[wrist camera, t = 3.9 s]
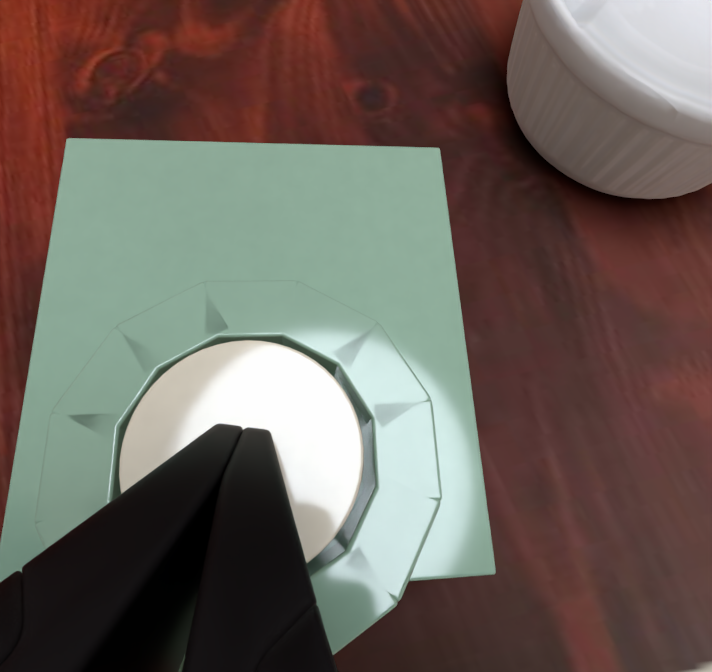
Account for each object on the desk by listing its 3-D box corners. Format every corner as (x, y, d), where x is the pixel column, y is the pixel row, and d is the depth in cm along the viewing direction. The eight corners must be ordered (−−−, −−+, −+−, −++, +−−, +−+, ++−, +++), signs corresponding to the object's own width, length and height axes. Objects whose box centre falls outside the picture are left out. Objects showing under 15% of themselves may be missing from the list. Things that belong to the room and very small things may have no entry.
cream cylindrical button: (355, 559, 10) (371, 577, 8) (153, 574, 10) (104, 597, 7) (346, 372, 11) (357, 337, 9) (168, 376, 11) (129, 341, 8)
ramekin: (484, -10, 22) (537, -160, 17) (719, 35, 23) (836, -97, 18) (475, 201, 18) (540, 88, 13) (757, 247, 19) (921, 155, 14)
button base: (449, 591, 14) (551, 655, 8) (74, 622, 13) (-112, 720, 7) (411, 222, 18) (462, 90, 12) (120, 220, 16) (23, 72, 11)
